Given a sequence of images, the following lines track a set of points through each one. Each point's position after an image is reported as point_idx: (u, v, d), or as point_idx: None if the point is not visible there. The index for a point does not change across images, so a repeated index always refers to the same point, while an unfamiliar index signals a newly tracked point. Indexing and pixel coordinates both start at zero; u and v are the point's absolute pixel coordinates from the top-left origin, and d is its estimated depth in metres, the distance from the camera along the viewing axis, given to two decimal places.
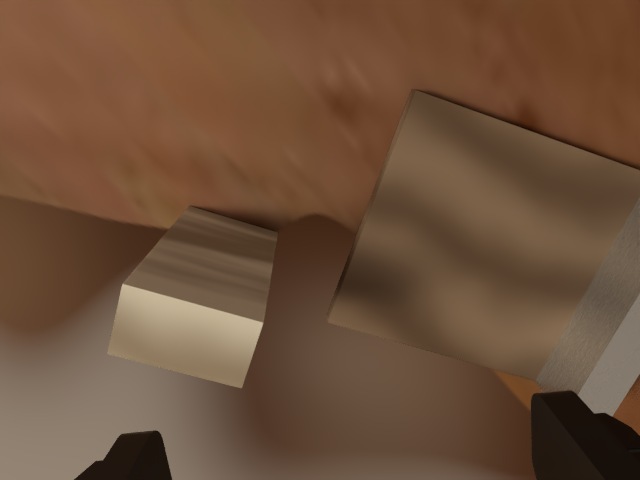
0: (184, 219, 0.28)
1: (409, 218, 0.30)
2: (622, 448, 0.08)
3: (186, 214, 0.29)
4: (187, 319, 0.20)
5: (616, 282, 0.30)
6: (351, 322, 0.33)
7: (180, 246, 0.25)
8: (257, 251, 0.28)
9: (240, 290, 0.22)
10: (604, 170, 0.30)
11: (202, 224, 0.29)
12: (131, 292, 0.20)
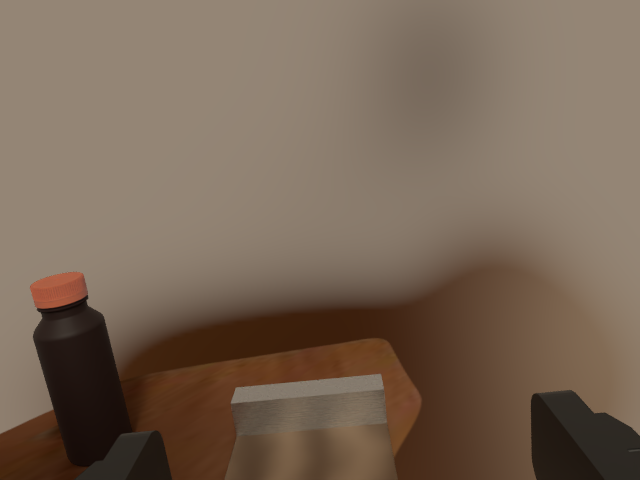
0: None
1: None
2: (622, 448, 0.08)
3: None
4: None
5: (297, 414, 0.50)
6: None
7: None
8: None
9: None
10: (237, 455, 0.48)
11: None
12: None
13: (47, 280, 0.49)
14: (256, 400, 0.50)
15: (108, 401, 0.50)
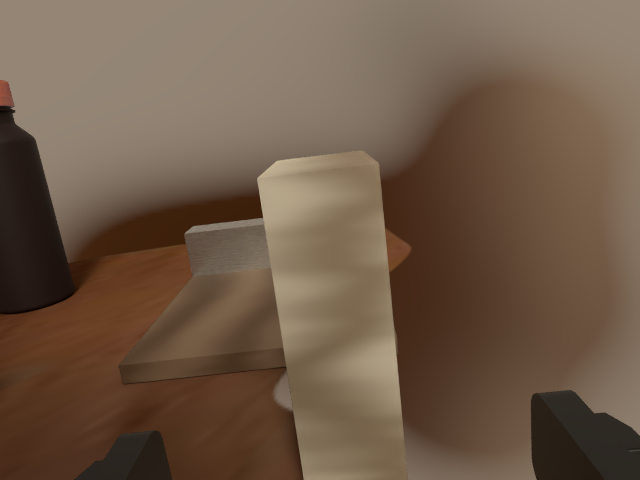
0: None
1: (251, 332, 0.30)
2: (622, 448, 0.08)
3: None
4: (292, 165, 0.17)
5: (263, 247, 0.42)
6: None
7: None
8: None
9: None
10: (191, 287, 0.40)
11: None
12: (268, 175, 0.14)
13: None
14: (214, 229, 0.42)
15: (39, 235, 0.43)
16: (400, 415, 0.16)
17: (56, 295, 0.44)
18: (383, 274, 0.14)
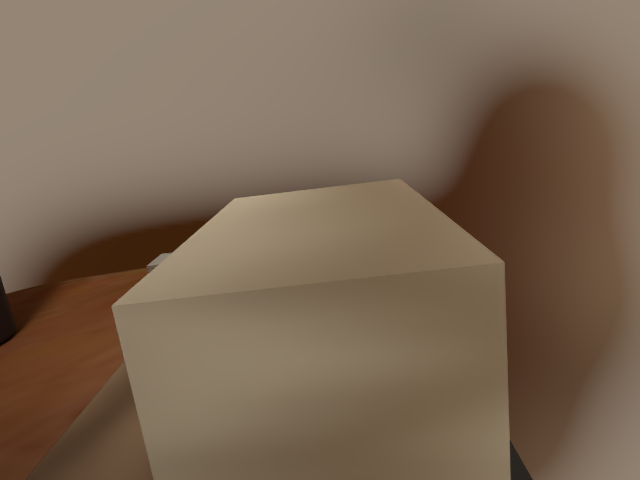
0: None
1: None
2: None
3: None
4: (252, 225, 0.07)
5: None
6: None
7: None
8: None
9: None
10: None
11: None
12: (159, 286, 0.05)
13: None
14: None
15: None
16: None
17: None
18: None
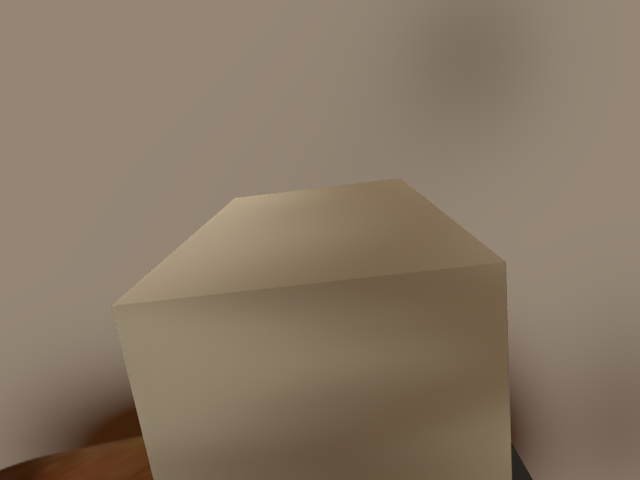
0: None
1: None
2: None
3: None
4: (251, 224, 0.07)
5: None
6: None
7: None
8: None
9: None
10: None
11: None
12: (158, 286, 0.05)
13: None
14: None
15: None
16: None
17: None
18: None
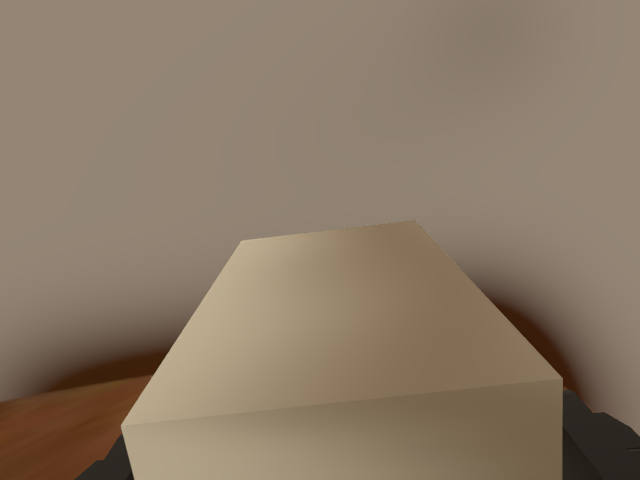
0: None
1: None
2: (621, 448, 0.08)
3: None
4: (265, 288, 0.07)
5: None
6: None
7: None
8: None
9: None
10: None
11: None
12: (171, 392, 0.04)
13: None
14: None
15: None
16: None
17: None
18: None
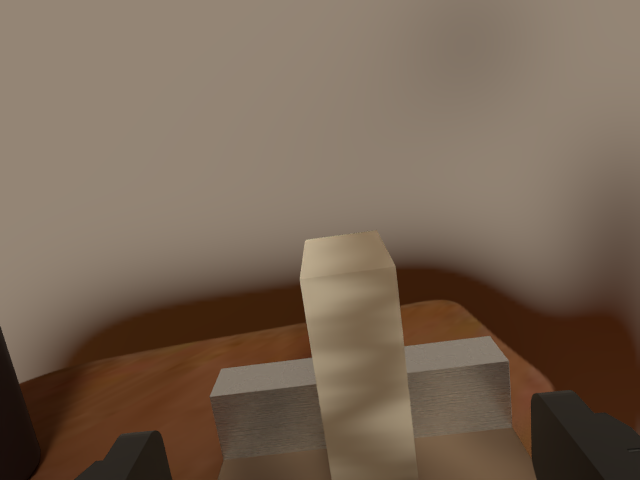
0: None
1: None
2: (622, 448, 0.08)
3: None
4: (322, 254, 0.20)
5: None
6: None
7: None
8: None
9: None
10: None
11: None
12: (307, 274, 0.18)
13: None
14: (259, 388, 0.26)
15: None
16: (415, 460, 0.19)
17: None
18: (400, 350, 0.18)
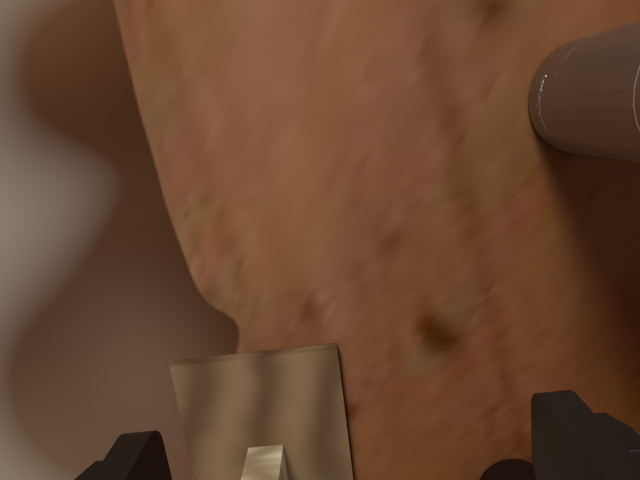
0: (281, 466, 0.45)
1: (263, 381, 0.46)
2: (622, 448, 0.08)
3: (281, 458, 0.46)
4: None
5: None
6: (177, 381, 0.46)
7: None
8: None
9: None
10: (344, 467, 0.48)
11: (282, 475, 0.45)
12: None
13: None
14: None
15: None
16: (242, 475, 0.44)
17: None
18: None
